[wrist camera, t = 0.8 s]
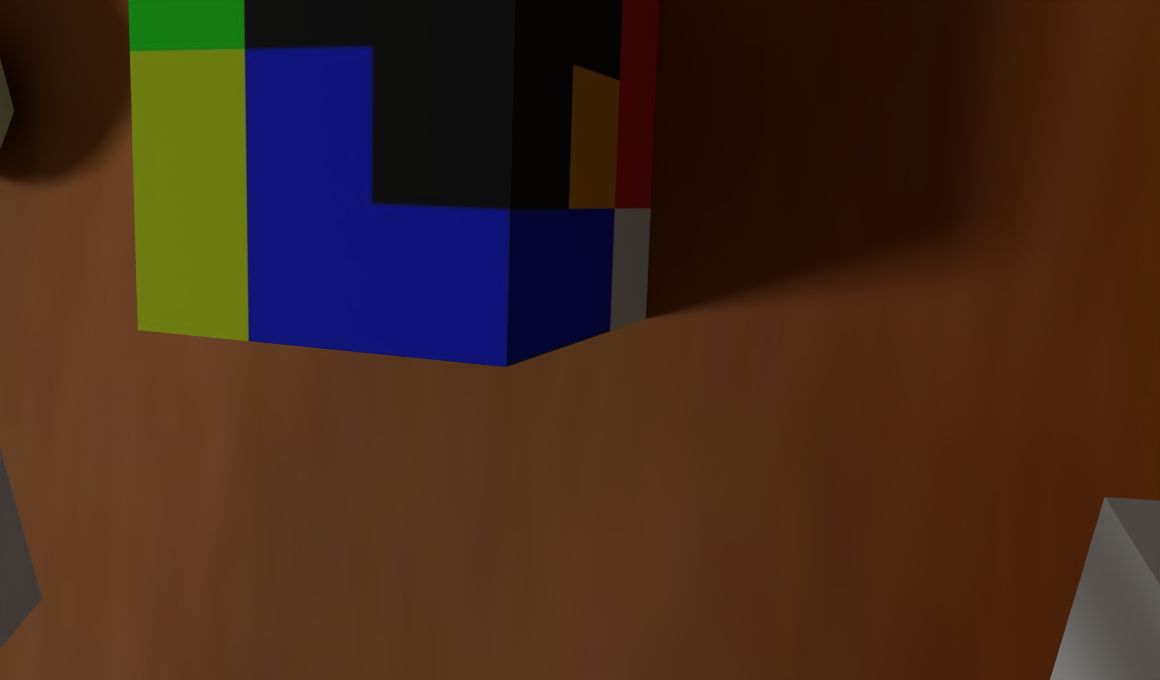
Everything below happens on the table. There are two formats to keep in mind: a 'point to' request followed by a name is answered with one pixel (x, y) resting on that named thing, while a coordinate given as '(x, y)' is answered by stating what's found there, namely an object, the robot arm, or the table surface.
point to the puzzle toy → (393, 172)
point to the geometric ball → (4, 106)
